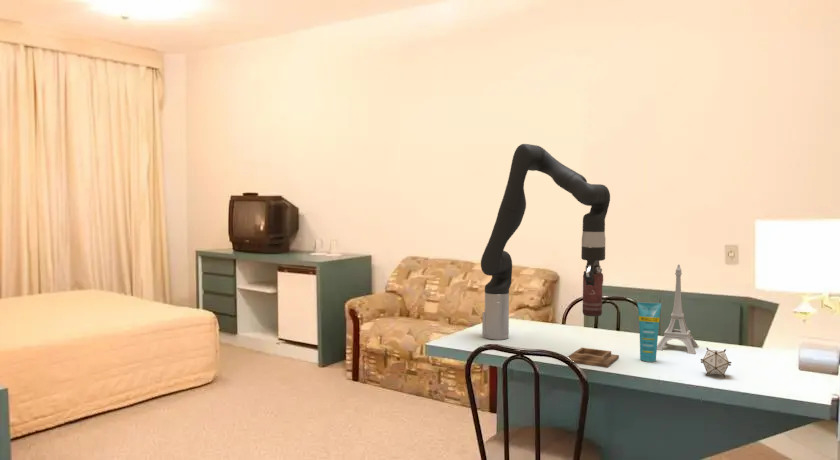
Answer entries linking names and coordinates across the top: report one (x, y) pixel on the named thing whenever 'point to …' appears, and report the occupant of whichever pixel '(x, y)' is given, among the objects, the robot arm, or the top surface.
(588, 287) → the can
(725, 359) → the game die
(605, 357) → the coaster plate
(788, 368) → the top surface
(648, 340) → the tube
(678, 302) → the eiffel tower
